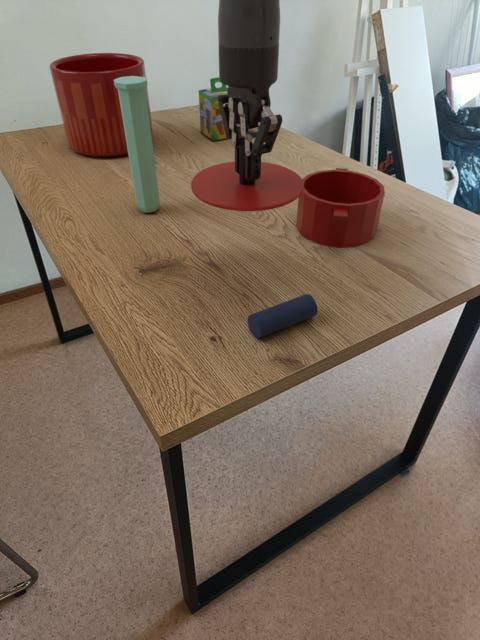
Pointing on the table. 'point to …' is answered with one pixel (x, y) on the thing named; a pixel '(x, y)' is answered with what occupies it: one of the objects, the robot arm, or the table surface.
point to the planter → (94, 100)
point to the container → (139, 140)
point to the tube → (282, 315)
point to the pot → (339, 207)
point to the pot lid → (246, 186)
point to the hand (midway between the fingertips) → (247, 175)
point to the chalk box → (212, 111)
